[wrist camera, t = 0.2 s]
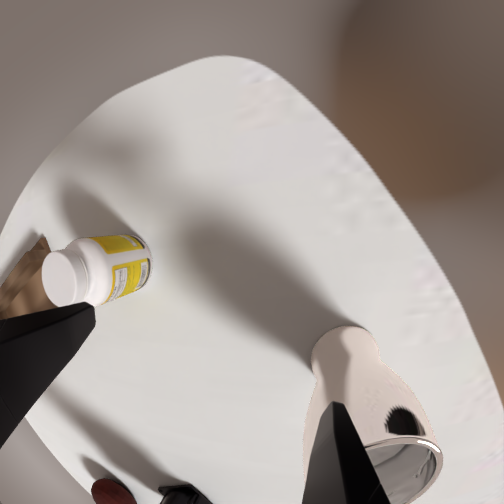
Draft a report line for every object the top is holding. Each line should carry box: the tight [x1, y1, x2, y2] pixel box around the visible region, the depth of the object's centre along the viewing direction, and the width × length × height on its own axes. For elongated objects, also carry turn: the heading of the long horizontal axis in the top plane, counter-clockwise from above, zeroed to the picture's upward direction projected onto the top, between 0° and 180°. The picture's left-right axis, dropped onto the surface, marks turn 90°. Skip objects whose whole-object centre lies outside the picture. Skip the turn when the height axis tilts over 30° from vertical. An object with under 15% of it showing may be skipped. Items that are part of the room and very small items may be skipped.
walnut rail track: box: [0, 238, 58, 320], centre depth 28 cm, size 17×12×4 cm
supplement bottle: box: [42, 235, 153, 307], centre depth 21 cm, size 5×5×10 cm
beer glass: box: [303, 326, 443, 504], centre depth 16 cm, size 7×7×15 cm
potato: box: [91, 478, 137, 504], centre depth 28 cm, size 7×10×6 cm
